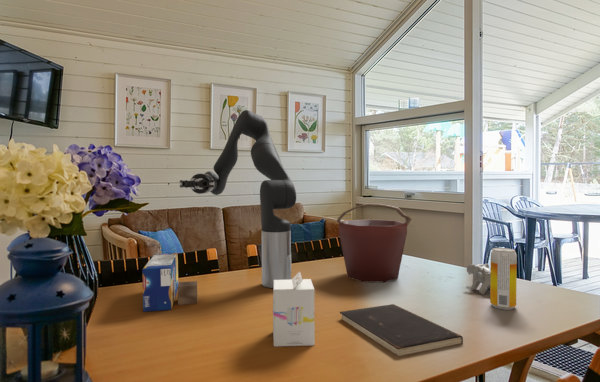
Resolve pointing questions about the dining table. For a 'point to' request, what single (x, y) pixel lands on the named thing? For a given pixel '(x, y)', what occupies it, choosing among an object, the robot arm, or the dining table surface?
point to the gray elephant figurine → (480, 276)
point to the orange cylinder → (503, 278)
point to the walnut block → (187, 292)
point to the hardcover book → (400, 329)
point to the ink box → (293, 312)
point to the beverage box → (160, 282)
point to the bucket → (373, 246)
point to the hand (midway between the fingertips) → (189, 184)
